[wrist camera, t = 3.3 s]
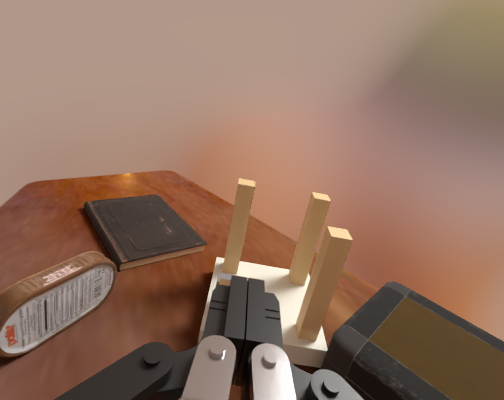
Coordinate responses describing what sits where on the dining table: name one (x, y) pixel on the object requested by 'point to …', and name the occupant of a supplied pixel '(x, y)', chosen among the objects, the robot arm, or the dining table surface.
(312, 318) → the stool
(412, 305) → the cash box
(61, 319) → the tin
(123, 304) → the dining table surface
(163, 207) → the hardcover book
